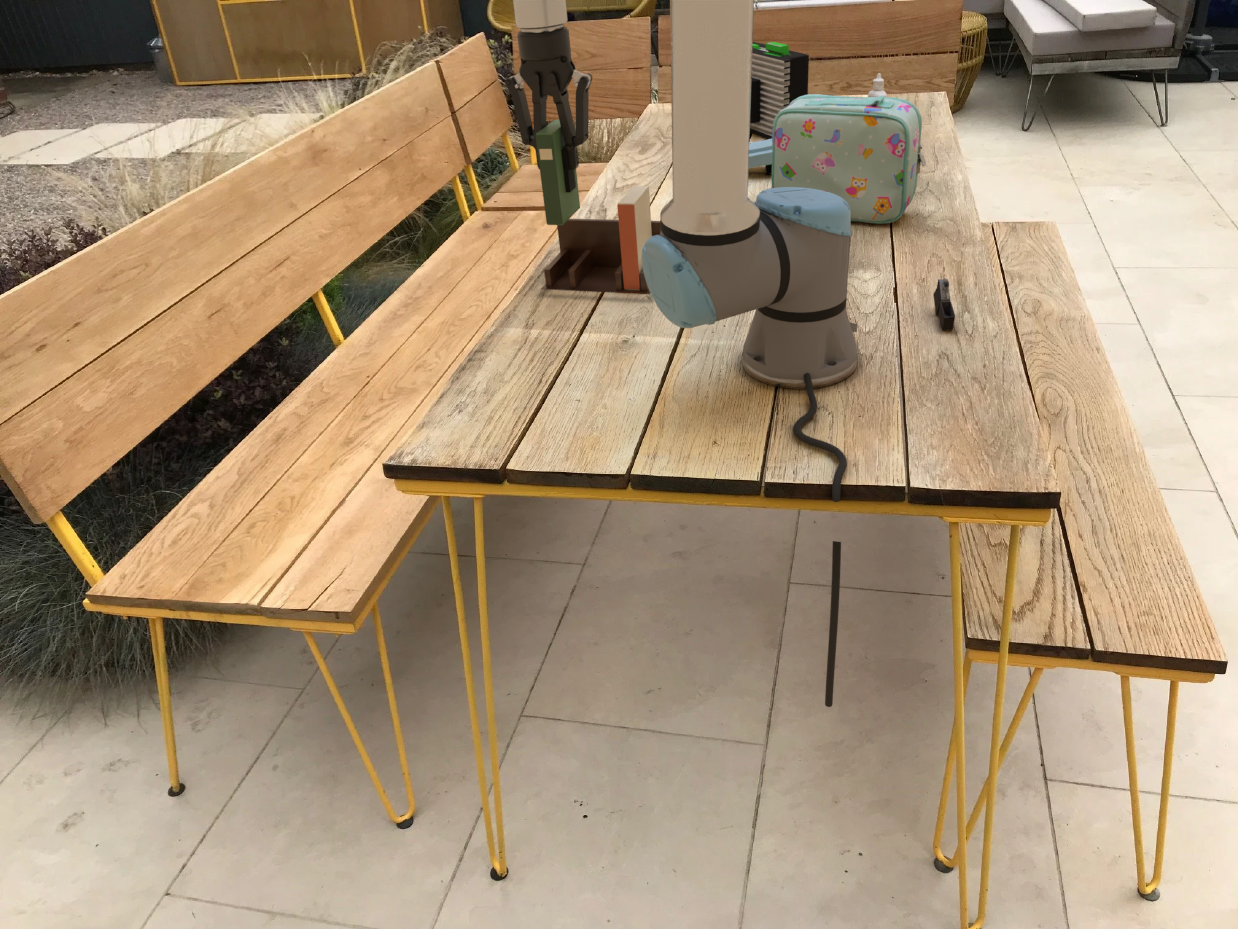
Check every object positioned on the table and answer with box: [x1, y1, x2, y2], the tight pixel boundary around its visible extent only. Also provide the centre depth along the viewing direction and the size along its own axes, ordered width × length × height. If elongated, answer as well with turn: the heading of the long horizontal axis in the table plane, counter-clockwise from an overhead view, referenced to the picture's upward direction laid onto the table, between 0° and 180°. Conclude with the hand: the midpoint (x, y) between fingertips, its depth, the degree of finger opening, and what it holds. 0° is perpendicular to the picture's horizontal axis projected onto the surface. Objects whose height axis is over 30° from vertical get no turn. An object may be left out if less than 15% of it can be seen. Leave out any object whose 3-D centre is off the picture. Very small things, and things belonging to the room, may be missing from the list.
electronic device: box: [750, 41, 810, 140], centre depth 224 cm, size 28×11×20 cm, turn 25°
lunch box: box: [771, 93, 927, 224], centre depth 170 cm, size 27×10×21 cm, turn 59°
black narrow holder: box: [932, 278, 956, 331], centre depth 135 cm, size 8×2×5 cm
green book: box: [536, 118, 581, 226], centre depth 148 cm, size 9×3×14 cm, turn 163°
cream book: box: [616, 185, 652, 290], centre depth 151 cm, size 9×3×14 cm, turn 163°
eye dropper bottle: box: [867, 72, 888, 97], centre depth 220 cm, size 4×6×12 cm
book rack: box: [540, 218, 661, 295], centre depth 154 cm, size 11×18×9 cm, turn 73°
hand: (561, 189), depth 150 cm, fingers closed on green book, 3 cm apart
